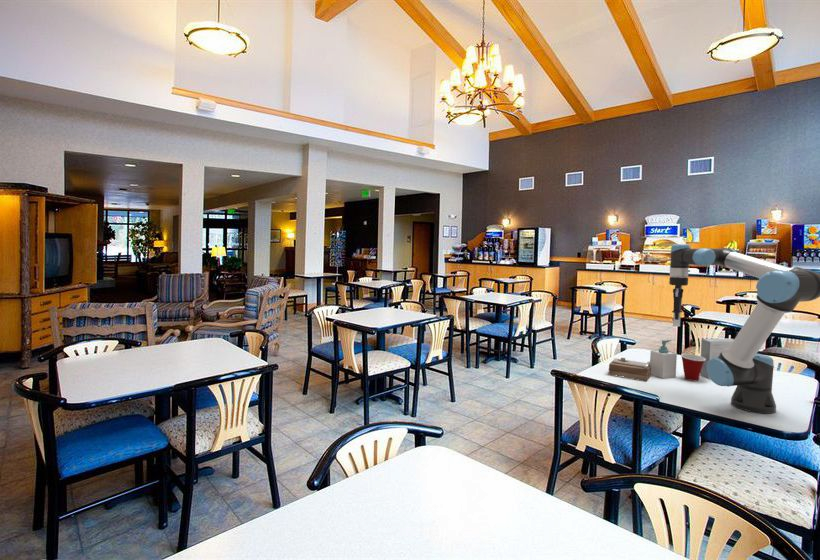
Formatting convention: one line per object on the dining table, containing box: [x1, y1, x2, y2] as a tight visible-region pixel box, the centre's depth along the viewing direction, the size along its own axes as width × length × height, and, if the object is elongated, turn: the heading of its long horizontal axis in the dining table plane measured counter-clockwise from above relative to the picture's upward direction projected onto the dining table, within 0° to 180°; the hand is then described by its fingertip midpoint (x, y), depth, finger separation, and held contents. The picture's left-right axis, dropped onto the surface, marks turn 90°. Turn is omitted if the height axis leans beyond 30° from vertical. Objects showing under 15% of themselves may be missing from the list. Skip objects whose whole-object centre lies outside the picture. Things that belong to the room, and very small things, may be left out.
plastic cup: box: [680, 353, 706, 381], centre depth 223 cm, size 11×11×12 cm
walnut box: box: [608, 357, 652, 382], centre depth 230 cm, size 12×18×9 cm
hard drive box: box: [699, 338, 735, 380], centre depth 226 cm, size 16×8×20 cm, turn 84°
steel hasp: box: [612, 357, 649, 367], centre depth 230 cm, size 6×17×1 cm, turn 53°
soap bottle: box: [649, 339, 678, 379], centre depth 229 cm, size 9×9×19 cm
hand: (676, 326), depth 207 cm, fingers closed
